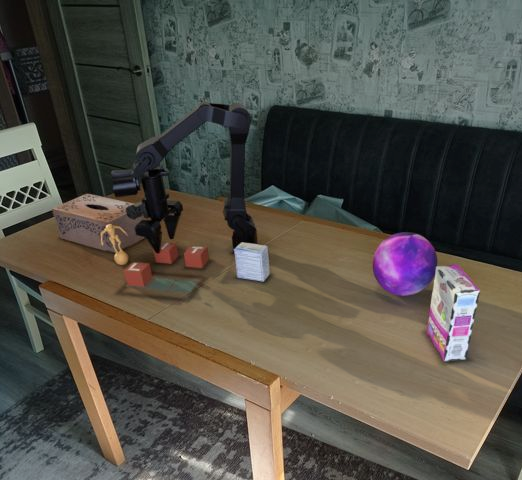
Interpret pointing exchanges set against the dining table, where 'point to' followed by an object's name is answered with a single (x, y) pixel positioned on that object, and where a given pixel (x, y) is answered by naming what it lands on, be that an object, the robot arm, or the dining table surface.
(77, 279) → the dining table surface
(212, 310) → the dining table surface
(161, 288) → the word mat
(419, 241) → the decorative orb
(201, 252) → the letter T
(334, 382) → the dining table surface
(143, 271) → the letter L
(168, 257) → the red box-shaped block
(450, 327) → the candy bar box
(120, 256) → the figurine
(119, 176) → the robot arm
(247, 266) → the medicine box
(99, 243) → the tissue box cover
